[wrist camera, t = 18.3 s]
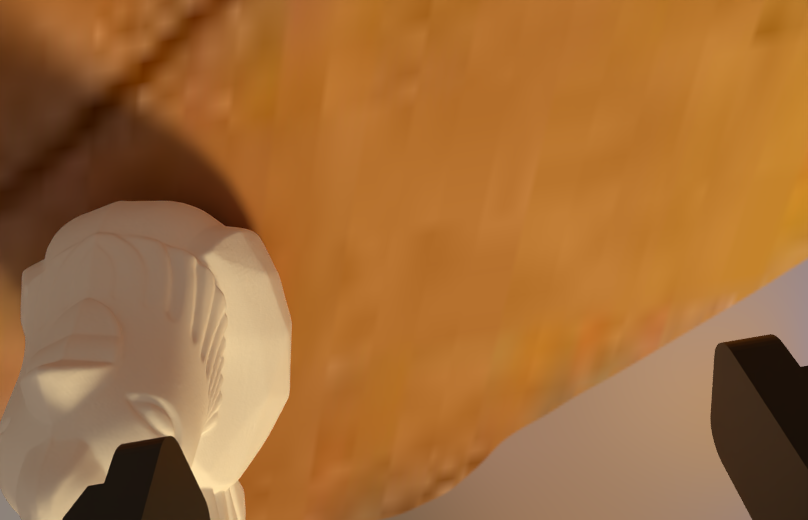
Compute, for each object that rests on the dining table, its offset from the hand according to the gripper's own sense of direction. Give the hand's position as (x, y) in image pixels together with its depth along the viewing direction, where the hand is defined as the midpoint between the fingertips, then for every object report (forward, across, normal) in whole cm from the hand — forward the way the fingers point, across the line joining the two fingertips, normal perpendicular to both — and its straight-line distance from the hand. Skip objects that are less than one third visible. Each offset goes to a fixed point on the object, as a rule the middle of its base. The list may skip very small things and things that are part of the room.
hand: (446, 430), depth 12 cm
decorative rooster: (+36, +18, +22) cm, 46 cm away
